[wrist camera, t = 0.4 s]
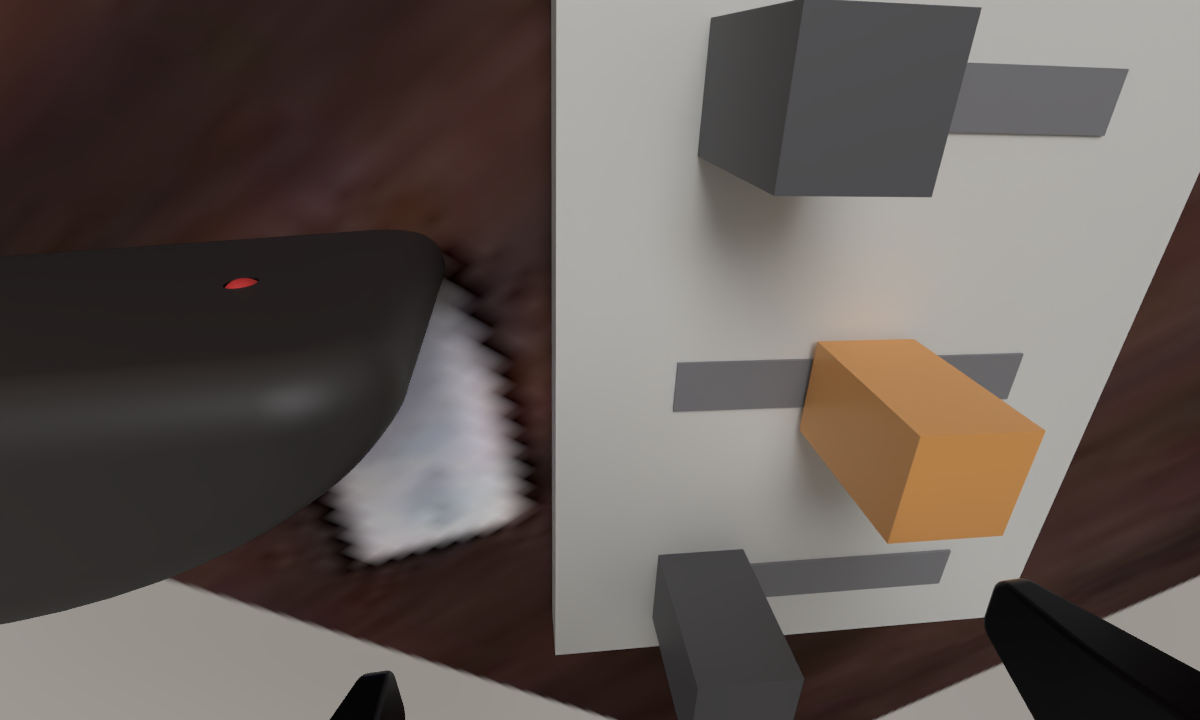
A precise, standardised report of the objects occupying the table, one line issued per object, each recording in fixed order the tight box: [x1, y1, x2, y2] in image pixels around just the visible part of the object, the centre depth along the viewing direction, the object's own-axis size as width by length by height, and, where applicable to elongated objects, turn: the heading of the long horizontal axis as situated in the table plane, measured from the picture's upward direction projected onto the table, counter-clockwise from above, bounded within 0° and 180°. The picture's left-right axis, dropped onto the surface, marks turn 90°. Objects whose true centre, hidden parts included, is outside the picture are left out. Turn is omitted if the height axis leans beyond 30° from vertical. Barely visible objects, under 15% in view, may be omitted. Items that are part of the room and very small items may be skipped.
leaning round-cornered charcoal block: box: [0, 230, 445, 624], centre depth 13 cm, size 16×5×9 cm, turn 93°
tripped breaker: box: [799, 339, 1046, 544], centre depth 16 cm, size 3×3×5 cm
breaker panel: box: [551, 0, 1200, 720], centre depth 17 cm, size 18×22×7 cm
